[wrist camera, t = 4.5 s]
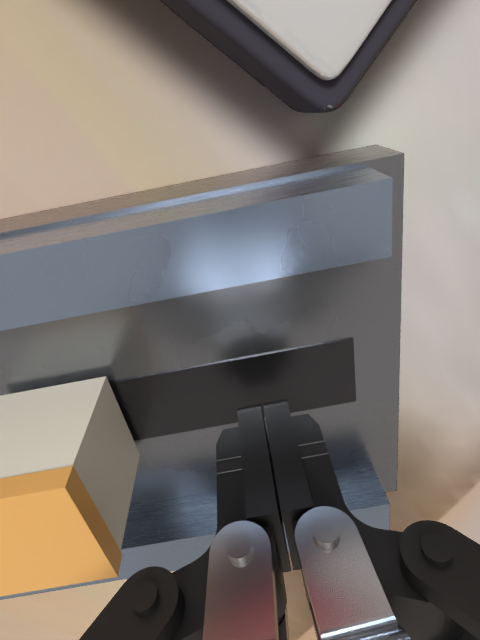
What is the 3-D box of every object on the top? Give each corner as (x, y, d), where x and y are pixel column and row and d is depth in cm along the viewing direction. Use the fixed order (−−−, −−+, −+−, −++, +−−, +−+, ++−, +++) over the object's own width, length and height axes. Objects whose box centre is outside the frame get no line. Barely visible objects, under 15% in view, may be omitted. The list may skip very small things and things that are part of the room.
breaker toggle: (-6, 395, 12) (-93, 515, 9) (107, 374, 12) (64, 487, 9) (42, 473, 14) (-14, 599, 11) (141, 455, 14) (118, 576, 11)
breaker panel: (-387, 296, 13) (-601, 368, 9) (375, 144, 12) (439, 163, 8) (-128, 540, 19) (-200, 634, 16) (379, 452, 18) (416, 531, 15)
